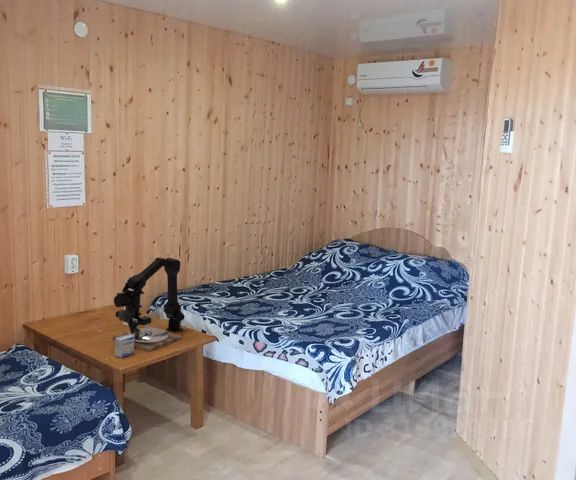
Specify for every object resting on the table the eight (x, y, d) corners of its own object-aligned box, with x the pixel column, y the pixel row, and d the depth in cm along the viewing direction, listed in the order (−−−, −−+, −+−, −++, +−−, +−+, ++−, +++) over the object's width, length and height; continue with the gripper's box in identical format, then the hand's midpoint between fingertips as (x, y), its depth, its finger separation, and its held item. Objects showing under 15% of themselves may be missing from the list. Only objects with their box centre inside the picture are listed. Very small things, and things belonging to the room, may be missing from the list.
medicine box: (120, 358, 263) (121, 340, 262) (114, 355, 266) (114, 337, 264) (133, 353, 270) (134, 336, 269) (127, 351, 272) (127, 333, 271)
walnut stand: (147, 327, 306) (147, 323, 305) (181, 338, 294) (182, 334, 294) (113, 339, 285) (113, 334, 285) (148, 351, 274) (149, 346, 273)
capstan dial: (145, 326, 302) (146, 316, 301) (176, 335, 294) (176, 324, 293) (119, 337, 285) (119, 325, 284) (150, 346, 276) (151, 334, 275)
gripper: (107, 302, 277) (106, 333, 280) (136, 311, 268) (135, 342, 271) (124, 298, 287) (122, 327, 289) (152, 306, 278) (151, 336, 281)
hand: (132, 333), depth 282 cm, fingers closed
